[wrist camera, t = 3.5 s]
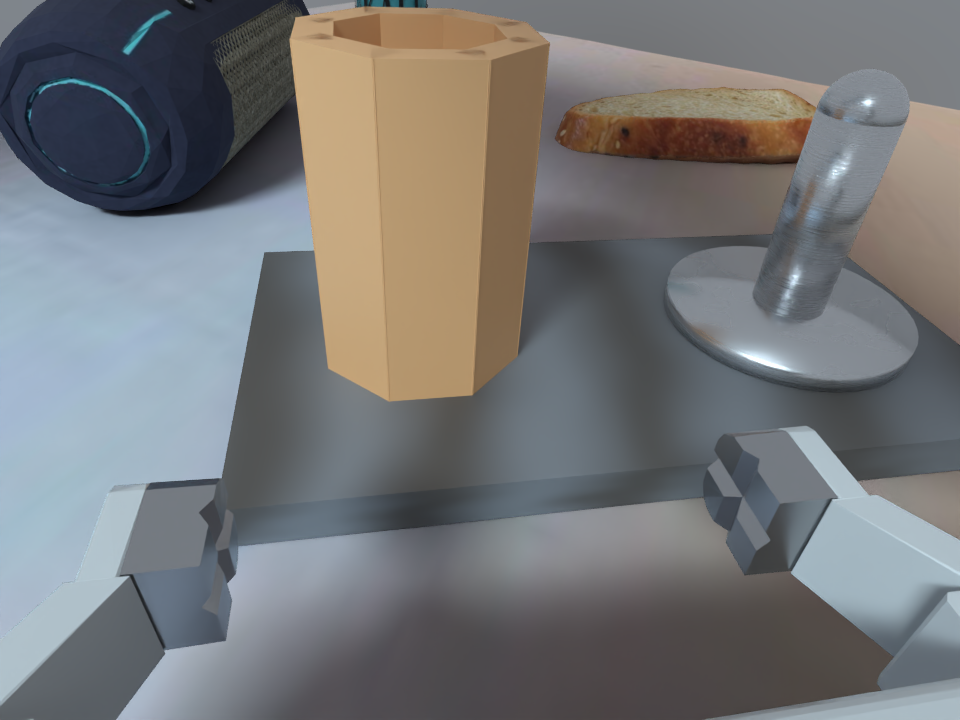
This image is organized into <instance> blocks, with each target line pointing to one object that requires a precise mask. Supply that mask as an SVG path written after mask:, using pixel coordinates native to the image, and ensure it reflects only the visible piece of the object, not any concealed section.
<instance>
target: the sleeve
mask: <svg viewBox="0 0 960 720" xmlns="http://www.w3.org/2000/svg"><path fill="white" fill-rule="evenodd" d="M289 40H290V48H291V57H292V66H293V74H294V83H295V91H296V100H297V108H298V117H299V125H300V134H301V142H302V151H303V159H304V168H305V176H306V185H307V193H308V202H309V210H310V219H311V227H312V236H313V244H314V253H315V261H316V270H317V278H318V287H319V295H320V304H321V312H322V321H323V329H324V338H325V346H326V355H327V363H328V369H330V370H332V371H334V372H336V373H337V374H339V375H341V376H343V377H345V378H347V379H348V380H350V381H352V382H354V383H356V384H358V385H360V386H361V387H363V388H365V389H367V390H369V391H371V392H372V393H374V394H376V395H378V396H380V397H382V398H384V399H385V400H387V401H389V402H390V401H402V400H416V399H429V398H443V397H456V396H470V395H473V394H474V393H476V392H477V391H478V390H479V389H480V388H481V387H483V386H484V385H485V384H486V383H487V382H488V381H489V380H491V379H492V378H493V377H494V376H495V375H496V374H498V373H499V372H500V371H501V370H502V369H503V368H504V367H506V366H507V365H508V364H509V363H510V362H511V361H513V360H514V359H515V358H516V357H517V356H518V346H519V337H520V327H521V317H522V308H523V298H524V288H525V279H526V269H527V259H528V250H529V240H530V230H531V221H532V211H533V201H534V192H535V182H536V172H537V163H538V153H539V143H540V134H541V124H542V114H543V105H544V95H545V85H546V76H547V66H548V56H549V47H550V43H549V42H548V41H547V40H546V39H545V38H543V37H542V36H541V35H540V34H539V33H538V32H537V31H536V30H534V29H533V28H532V27H531V26H530V25H529V24H528V23H527V22H522V21H517V20H512V19H506V18H501V17H495V16H490V15H484V14H479V13H473V12H468V11H462V10H457V9H445V8H403V7H358V8H352V9H346V10H339V11H333V12H327V13H321V14H314V15H308V16H302V17H295V22H294V26H293V30H292V33H291V37H290V39H289Z"/></svg>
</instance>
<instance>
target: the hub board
mask: <svg viewBox="0 0 960 720" xmlns="http://www.w3.org/2000/svg"><path fill="white" fill-rule="evenodd" d="M909 106H910V104H909V97H908V93H907V91H906V89H905V87H904V85H903V84H902V82H901V81H899V79H898V78H896V77H895V76H893V75H892V74H890V73H888V72H885V71H881V70H876V69H865V70H859V71H855V72H852V73H850V74H847V75H845V76H844V77H842V78H840V79H839V80H837V81H836V82H834V83H833V84H832V85H831V86H830V87H829V88H828V89H827V90H826V92H825V93H824V94H823V96H822V98H821V99H820V101H819V103H818V106H817V108H816V111H815V114H814V117H813V120H812V123H811V126H810V129H809V131H808V134H807V137H806V140H805V143H804V146H803V149H802V151H801V154H800V157H799V160H798V163H797V166H796V169H795V171H794V174H793V177H792V180H791V183H790V186H789V189H788V191H787V194H786V197H785V200H784V203H783V206H782V209H781V212H780V214H779V217H778V220H777V223H776V226H775V229H774V232H773V234H766V235H738V236H710V237H682V238H655V239H627V240H599V241H571V242H543V243H529V250H528V259H527V269H526V279H525V288H524V298H523V308H522V317H521V327H520V337H519V346H518V356H517V357H516V358H515V359H514V360H513V361H511V362H510V363H509V364H508V365H507V366H506V367H504V368H503V369H502V370H501V371H500V372H499V373H498V374H496V375H495V376H494V377H493V378H492V379H491V380H489V381H488V382H487V383H486V384H485V385H484V386H483V387H481V388H480V389H479V390H478V391H477V392H476V393H474V394H473V395H470V396H456V397H443V398H429V399H416V400H402V401H390V402H389V401H387V400H385V399H384V398H382V397H380V396H378V395H376V394H374V393H372V392H371V391H369V390H367V389H365V388H363V387H361V386H360V385H358V384H356V383H354V382H352V381H350V380H348V379H347V378H345V377H343V376H341V375H339V374H337V373H336V372H334V371H332V370H330V369H328V363H327V355H326V346H325V338H324V329H323V321H322V312H321V304H320V295H319V287H318V278H317V270H316V261H315V253H314V251H291V252H264V258H263V263H262V268H261V274H260V279H259V284H258V289H257V295H256V300H255V305H254V311H253V316H252V321H251V326H250V332H249V337H248V342H247V347H246V353H245V358H244V363H243V369H242V374H241V379H240V384H239V390H238V395H237V400H236V406H235V411H234V416H233V421H232V427H231V432H230V437H229V442H228V448H227V453H226V458H225V464H224V469H223V474H222V479H223V480H224V482H225V485H226V488H227V492H228V500H227V506H226V509H227V510H229V511H230V512H232V513H233V514H234V517H235V521H236V525H237V533H238V546H243V545H253V544H262V543H272V542H281V541H291V540H300V539H310V538H319V537H329V536H338V535H348V534H357V533H367V532H376V531H386V530H395V529H404V528H414V527H423V526H433V525H442V524H452V523H461V522H471V521H480V520H490V519H499V518H509V517H518V516H528V515H537V514H547V513H556V512H566V511H575V510H585V509H594V508H604V507H613V506H623V505H632V504H642V503H651V502H660V501H670V500H679V499H689V498H698V497H704V495H703V480H704V477H705V474H706V471H707V468H708V467H709V466H710V465H712V464H713V463H714V462H715V461H716V460H717V459H719V458H718V456H717V454H716V452H715V451H714V449H715V446H716V444H717V441H718V439H719V438H720V437H721V436H722V435H724V434H726V433H736V432H746V431H756V430H766V429H779V428H788V427H799V426H808V427H809V428H811V429H813V430H814V431H816V433H817V434H818V435H819V436H820V437H821V439H822V440H823V441H824V442H825V443H826V445H827V446H828V447H829V448H830V449H831V451H832V452H833V453H834V454H835V455H836V457H837V458H838V459H839V460H840V461H841V463H842V464H843V465H844V466H845V467H846V469H847V470H848V471H849V472H850V473H851V475H852V476H853V477H854V478H855V479H856V481H860V480H869V479H879V478H888V477H898V476H907V475H917V474H926V473H935V472H945V471H954V470H960V345H959V344H957V343H956V342H955V341H953V340H952V339H951V338H950V337H948V336H947V335H946V334H945V333H943V332H942V331H941V330H940V329H938V328H937V327H936V326H934V325H933V324H932V323H931V322H929V321H928V320H927V319H926V318H924V317H923V316H922V315H921V314H919V313H918V312H917V311H915V310H914V309H913V308H912V307H910V306H909V305H908V304H907V303H905V302H904V301H903V300H902V299H900V298H899V297H898V296H896V295H895V294H894V293H893V292H891V291H890V290H889V289H888V288H886V287H885V286H884V285H883V284H881V283H880V282H879V281H877V280H876V279H875V278H874V277H872V276H871V275H870V274H869V273H867V272H866V271H865V270H863V269H862V268H861V267H860V266H858V265H857V264H856V263H855V262H853V261H852V260H851V259H850V258H848V257H847V256H848V254H849V252H850V250H851V247H852V245H853V243H854V240H855V238H856V236H857V233H858V231H859V229H860V227H861V224H862V222H863V220H864V217H865V215H866V213H867V210H868V208H869V206H870V204H871V201H872V199H873V197H874V194H875V192H876V190H877V188H878V185H879V183H880V181H881V178H882V176H883V174H884V171H885V169H886V167H887V165H888V162H889V160H890V158H891V155H892V153H893V151H894V148H895V146H896V144H897V142H898V139H899V137H900V135H901V132H902V130H903V128H904V125H905V123H906V120H907V118H908V114H909Z"/></svg>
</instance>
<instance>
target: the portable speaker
mask: <svg viewBox="0 0 960 720" xmlns="http://www.w3.org/2000/svg"><path fill="white" fill-rule="evenodd" d="M308 15H310V14H309V12H308V10H307V8H306V6H305V4H304V2H303V0H46V1H45V2H43V3H42V4H40V5H39V6H37V7H36V8H35V9H34V10H33V11H32V12H31V13H30V14H29V15H28V16H27V17H26V18H25V19H24V20H23V21H22V22H21V23H20V24H19V25H17V26H16V27H15V28H14V29H13V30H12V32H11V33H10V34H9V35H8V36H7V38H6V39H5V40H4V41H3V42H2V44H1V47H0V131H1V133H2V134H3V136H4V138H5V140H6V141H7V143H8V145H9V146H10V148H11V149H12V150H13V152H14V153H15V155H16V156H17V157H18V158H19V159H20V160H21V161H22V162H23V163H24V164H25V165H26V166H27V167H28V168H29V169H30V170H31V171H33V172H34V173H35V174H36V175H37V176H38V177H39V178H40V179H41V180H42V181H43V182H44V183H45V184H47V185H49V186H50V187H52V188H54V189H56V190H58V191H60V192H61V193H63V194H65V195H67V196H69V197H71V198H73V199H74V200H76V201H79V202H82V203H85V204H89V205H92V206H95V207H98V208H102V209H110V210H120V211H125V210H146V209H151V208H155V207H160V206H164V205H168V204H173V203H177V202H181V201H183V200H185V199H187V198H189V197H191V196H193V195H194V194H195V193H196V192H198V191H199V190H200V189H201V188H202V187H203V186H204V185H205V184H207V183H208V182H209V181H210V180H211V179H212V178H213V177H215V176H216V175H217V174H218V173H219V171H220V170H221V169H222V168H223V167H224V166H225V165H226V164H227V163H228V162H229V161H230V160H231V159H232V158H233V157H234V155H236V154H237V152H238V151H239V150H240V149H241V148H242V147H243V146H244V145H245V144H246V143H247V142H248V141H249V140H250V139H251V138H252V137H253V136H254V135H255V134H256V133H257V132H258V131H259V130H260V129H261V128H262V127H263V126H264V125H265V124H266V123H267V122H268V121H269V120H270V119H271V118H272V117H273V116H274V115H275V114H276V113H277V112H278V111H279V110H280V109H281V108H282V107H283V106H284V104H286V102H288V100H289V99H290V98H292V97H293V96H294V95H295V94H296V91H295V83H294V74H293V66H292V57H291V48H290V40H289V39H290V37H291V33H292V30H293V26H294V22H295V17H302V16H308Z"/></svg>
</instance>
